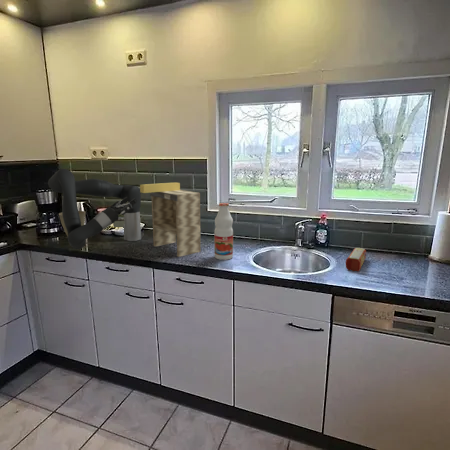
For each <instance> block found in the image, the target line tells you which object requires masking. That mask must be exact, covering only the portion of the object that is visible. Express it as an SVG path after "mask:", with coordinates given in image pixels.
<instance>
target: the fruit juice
mask: <svg viewBox="0 0 450 450" xmlns="http://www.w3.org/2000/svg"><path fill="white" fill-rule="evenodd" d="M218 207H219V209H218V212H217V215H216V216H215V218H214V224H215V228H214V254H213V255H214V258H215V259H217V260H220V261H225V260H226V261H228V260H230V259H232V258H233V256H234V253H233V252H234V229H233V222H234V219H233V217H232V215H231V212H230V210H229V207H230V203H228V202H219V203H218Z"/></svg>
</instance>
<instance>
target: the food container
mask: <svg viewBox="0 0 450 450" xmlns="http://www.w3.org/2000/svg"><path fill="white" fill-rule="evenodd" d="M118 217H119V219H118V220H116V221H115V222H114V223H113V224H112V226H113V228H114V227H123V225H124V224H125V221H124V216H118Z"/></svg>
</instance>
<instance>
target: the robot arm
mask: <svg viewBox="0 0 450 450" xmlns="http://www.w3.org/2000/svg"><path fill="white" fill-rule="evenodd" d="M47 184H48V185H47V186H48V187H49V189H50V190H52V191H54V192H56V193H58V194H62V196H63V197H62V206H61V207H62V208H61V213H62V215H63V220H64V224H65V227H66V229H67V232H68V236H67V242H68V244H69V246H70V247H71V248H72V249H74V250H81V249H83V248H84V247H85V246H86V243H87V241H86V240H87V239H89V238H90V237H95V236H97V235H99V234H100V233H101V232H102V231H104V230H105V229H107V228H109V227H110V226H112V225H113V223H114V222H115V221H116V220H118V219H119V217H120V216H119V215H122V216H123V217H124V221H125V224H124V225H123V228H124V234H123V240H124V241H127V242H136V241H140V240H142V230H141V228H142V227H141V206H142V195H141V192H140V187H139V186H138V185H130V184H115V183H112V182H111V181H108V180H104V179H99V178H88V179H81V180H76V178H75V176H74V174H73V173H72V171H71V170H69V169H67V168H60V169H59V170H57V171H55V173H54V174H53V175H52V176H51V177H50V178H49V179H48V181H47ZM77 194H79V195H87V196H93V197H100V198H109V197H110V198H111V197H113V198H117V199H121V200H116V202H115V203H113V204H112V205H110V206H108V207H106V208H104V210H102V211H101V212H99V213H98V214H97V215H95V217H93V218H92V219H90V220H89V221H88V222H87V223H85V225H82V226H81V220H80V216H79V212H78V211H79V208H78V200H77Z"/></svg>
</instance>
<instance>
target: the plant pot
mask: <svg viewBox="0 0 450 450" xmlns="http://www.w3.org/2000/svg"><path fill="white" fill-rule="evenodd" d="M78 212H79V216H80V220H81V226H82V225H85V224H86V211H85V210H78ZM58 217H59V219H60V223H61V225H62V227H63V230H64V232H65V233H64V234H65V235H66V236H67V237H68V232H67V229H66V227H65V224H64V220H63V215H62V212H59V213H58Z"/></svg>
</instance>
